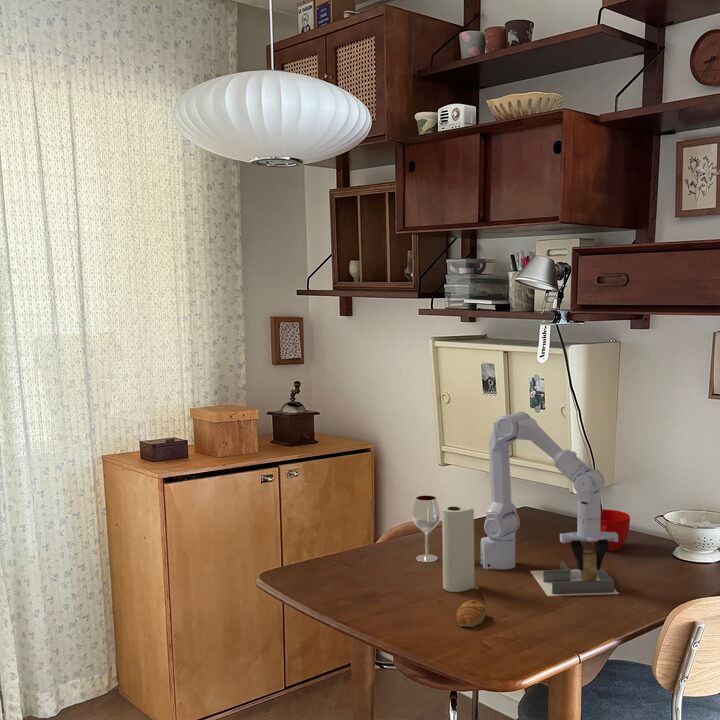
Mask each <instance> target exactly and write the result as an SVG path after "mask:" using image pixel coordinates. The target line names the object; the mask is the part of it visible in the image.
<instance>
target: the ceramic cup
mask: <svg viewBox="0 0 720 720" xmlns="http://www.w3.org/2000/svg"><path fill="white" fill-rule="evenodd" d="M630 523H631V517H630V515H629V513H627V512H624V511H621V510H620V511H619V510H615V509H604V508H603V509H601V518H600V532H616V533H617V534H618V542H614V541H608V543H609V548H608V550H607V551H606V552H615V551H617V550H619V549H620V548H621V547H622V545H624V543H625V542H626V540H627V537H628V536H629V531H630V525H631V524H630ZM591 543H592V545H594V541H592V542H591Z"/></svg>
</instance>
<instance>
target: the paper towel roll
mask: <svg viewBox="0 0 720 720" xmlns="http://www.w3.org/2000/svg"><path fill="white" fill-rule="evenodd" d="M441 514H442V515H441V518H442V522H441V524H442V530H441V531H442V535H441V536H442V588H443V590H444V589H445V590H444V591H447V592H450V593H460V592H465V591H468V590H471V589H475V509H474V508H470V509H466V507H463V506H458V505H449V506H444V507H441Z"/></svg>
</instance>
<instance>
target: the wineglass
mask: <svg viewBox="0 0 720 720" xmlns="http://www.w3.org/2000/svg"><path fill="white" fill-rule="evenodd" d="M411 518H412V523H414V525H415V526H416V527H417V528H418V530H420V531H422V532H423V535H424V540H425V541H424V543H425V545H424V546H425V547H424V549H425V550H424V551H425V552H424V554H420V555H417V556H416V557H415V559H416V561H417V562H420V561H421V563H434V562H436V561H438V560H439V557H438V556H436V555H433V554H429V534H430V533H431V532H432V531H433V530H434V529H435V528H436V527H437V526H438V525H439V523H440V521H441V511H440V508H439V504H438V499H437V497H436V496H433V495H420V496H419V495H418V496H416V498H415V502H414V505H413V509H412V515H411Z"/></svg>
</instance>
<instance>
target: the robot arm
mask: <svg viewBox="0 0 720 720" xmlns="http://www.w3.org/2000/svg"><path fill="white" fill-rule="evenodd" d="M516 440H520V441H521V440H523V441H531V442H532V443H533V444H534V445H535V446H537V447H538V448H539V449H540V450H542V451H543V452H544V453H545V454H546V455H548V456H549V457H550V458H552V459H553V466H554V467H555V468H556V469H557V470H558V471H559V472H560V473H561V474H563V475H564V476H565V477H566V478H567V479H568V480H569V481H571V482H572V485H573V488H574V490H575V492H576V494H577V518H576V519H577V525H576V526H577V529H576V530H577V531H574V532H573V531H572V532H566V533H559V542H561V543H562V544H566V543H569V546H570V547H571V549H572V552H573V555H574V558H575V561H576V566H577V568H576V569H577V570H582V568H583V564H582V555H583V551H584V548H585V547H584V546H583V545H582V543H585V542H587V543H588V542H589V543H592V541H594V544H593V546H594V551H595V552H596V553H597V570H600V567H601V565H602V563H603V559H604V557H605V555H606V553H607V552H608V551H607V550H608V548H609V543H608V541H614V542H618V534H617V533H616V532H600V518H601V504H602V503H601V497H602V496H601V495H602V493H601V492H602V491H601V490H602V489H603V488H604V486H605V478H604V475H603V474H602V473H601V472H600V470H599V469H597V468H591V466H590V465H589V464H586V463H585V462H584V461H583V460H582V459H580V458H579V457H578V456H577V455H578V454H577V452H576V451H574V450H573V451H571V450H570V449H562V448H561V447H560V445H558V444H557V442H555V440H553V439H552V437H551V436H550V435H549V434H547V432H545V430H543V429H542V427H540V426H539V424H538V422H537V421H536V419H534V418H533V417H531V416H530V414H528V413H527V412H525V411H518V412H515V413H511V414H508V415H507V414H505V415H502V416H500V417H499V418H498V419H496V420H495V421H494V422H493V429H492V430H491V433H490V435H489V438H488V455H489V475H490V477H489V478H490V497H491V500H490V501H491V503H490V505H489V507H488V508H487V510H486V512H485V513H486V517H485V521H484V525H483V529H484V533H485V534H486V535H487V536H486V537H485V536H484V537H481V539H480V565H482V567H483V569H484V570H512V569H514V568H515V567H516V535H517V533H516V532H517V531H518V530H519V529H520V526H521V520H520V517H519V515H518V513H517V507H516V506H515V504H514V503H513V501H512V490H511V489H512V487H511V486H512V485H511V467H510V466H511V465H510V464H511V463H510V446H511V445H512V444H513V443H514V442H515V441H516ZM601 568H602V567H601Z"/></svg>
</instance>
